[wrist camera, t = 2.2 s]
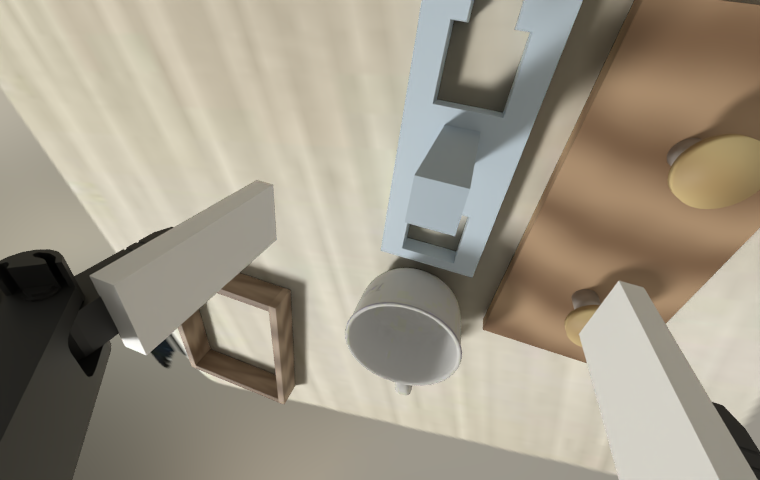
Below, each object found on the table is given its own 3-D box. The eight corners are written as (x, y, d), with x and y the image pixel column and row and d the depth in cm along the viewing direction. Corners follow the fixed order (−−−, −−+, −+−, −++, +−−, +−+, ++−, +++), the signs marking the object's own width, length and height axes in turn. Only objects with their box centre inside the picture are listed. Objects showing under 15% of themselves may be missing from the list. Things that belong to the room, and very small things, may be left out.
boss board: (637, -6, 18) (680, -19, 14) (919, 29, 16) (1078, 27, 12) (483, 319, 34) (481, 360, 30) (612, 360, 32) (630, 411, 28)
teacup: (377, 241, 33) (348, 290, 27) (481, 271, 31) (476, 332, 25) (364, 327, 41) (339, 382, 35) (446, 356, 39) (435, 419, 33)
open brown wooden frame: (176, 251, 45) (155, 266, 42) (290, 290, 41) (275, 308, 39) (206, 350, 58) (192, 366, 55) (295, 385, 55) (284, 404, 52)
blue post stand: (440, -75, 19) (377, -197, 9) (599, -59, 18) (735, -185, 7) (386, 240, 33) (337, 330, 23) (473, 265, 31) (461, 374, 21)
